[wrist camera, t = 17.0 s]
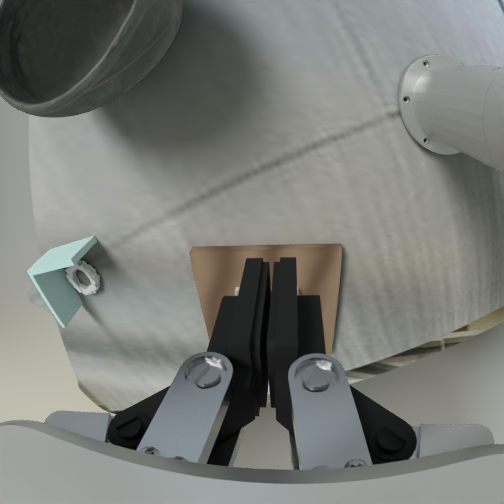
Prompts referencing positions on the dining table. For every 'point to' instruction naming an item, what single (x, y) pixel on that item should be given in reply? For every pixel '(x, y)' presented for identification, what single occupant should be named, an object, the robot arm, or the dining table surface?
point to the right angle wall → (64, 278)
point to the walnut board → (308, 276)
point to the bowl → (80, 50)
